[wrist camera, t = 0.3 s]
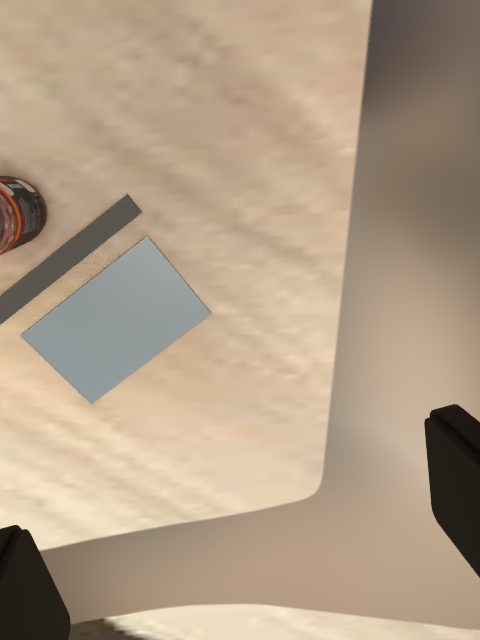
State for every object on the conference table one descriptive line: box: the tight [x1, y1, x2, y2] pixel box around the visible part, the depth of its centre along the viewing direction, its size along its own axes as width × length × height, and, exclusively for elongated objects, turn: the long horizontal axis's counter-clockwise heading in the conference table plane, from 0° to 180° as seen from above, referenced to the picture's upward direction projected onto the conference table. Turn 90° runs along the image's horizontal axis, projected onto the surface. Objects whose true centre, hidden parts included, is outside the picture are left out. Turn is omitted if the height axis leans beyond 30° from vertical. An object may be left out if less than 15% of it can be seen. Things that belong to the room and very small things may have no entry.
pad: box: [21, 236, 211, 404], centre depth 45 cm, size 10×16×1 cm, turn 127°
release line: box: [0, 194, 141, 324], centre depth 42 cm, size 2×18×1 cm, turn 127°
